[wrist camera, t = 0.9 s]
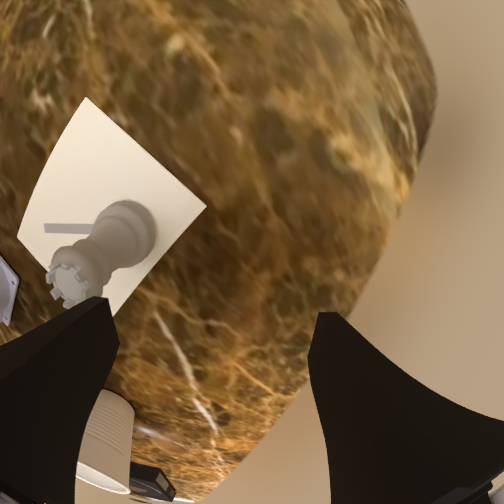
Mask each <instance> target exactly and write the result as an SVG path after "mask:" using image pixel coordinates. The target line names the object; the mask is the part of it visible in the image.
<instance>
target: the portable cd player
mask: <svg viewBox="0 0 504 504" xmlns="http://www.w3.org/2000/svg"><path fill="white" fill-rule="evenodd" d="M129 489H130V490H131V493H134V494H138V495H142V496H146V497H150V498H154V499H159V500H164V501H169V502H172V501H173V499H174V497H175V495H176V492H175V490H174V489H173V487H172V486H171V485H170V483H169V482H168V480H167V479H166V478H165V476H164V475H163V474H162V472H161V471H160V469H159V468H156V467H151V466H147V465H142V464H138V463H134V462H130V471H129Z"/></svg>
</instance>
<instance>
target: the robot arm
mask: <svg viewBox="0 0 504 504" xmlns="http://www.w3.org/2000/svg"><path fill="white" fill-rule="evenodd" d="M18 284H19V278H18V276H17V275H16V274H15V273H14V271H13V270H12V269H11V268H10V267H9V265H8V264H7V263H6V262H5V261H4V259H3V258H2V257H1V255H0V323H1V322H2V321H3V322H4V323H5V324H6V325H7V326H8V325H9V324H10V320H11V314H12V309H13V305H14V300H15V296H16V292H17V288H18ZM119 345H120V342H119V339H118V335H117V332H116V328H115V324H114V320H113V316H112V312H111V308H110V304H109V299H108V298H105V297H98V296H93V297H90V298H88V299H86V300H84V301H82V302H80V303H78V304H77V305H75V306H73V307H71V308H70V309H68V310H66V311H64V312H63V313H61V314H59V315H58V316H56V317H54V318H53V319H51V320H49V321H47V322H46V323H44V324H42V325H40V326H38V327H37V328H35V329H33V330H31V331H29V332H28V333H26V334H24V335H22V336H20V337H18V338H16V339H14V340H12V341H10V342H8V343H5V344H3V345H1V346H0V504H44V503H46V504H74V503H75V502H74V501H75V498H74V497H75V479H76V470H77V463H78V458H79V452H80V448H81V443H82V439H83V435H84V432H85V428H86V424H87V422H88V419H89V416H90V414H91V411H92V409H93V407H94V405H95V403H96V400H97V398H98V396H99V394H100V392H101V390H102V388H103V385H104V383H105V381H106V379H107V377H108V375H109V373H110V371H111V368H112V366H113V363H114V360H115V357H116V354H117V351H118V348H119ZM308 367H309V375H310V382H311V387H312V391H313V395H314V399H315V402H316V406H317V410H318V414H319V418H320V422H321V425H322V429H323V433H324V437H325V442H326V448H327V456H328V464H329V475H330V489H331V504H504V484H503V485H502V486H501V487H499V488H498V489H496V490H495V491H493V492H492V493H490V494H489V495H488V491H489V490H491V489H492V487H493V485H492V482H491V481H492V480H493V479H494V478H496V477H497V476H498V475H499V474H501V473H502V472H503V471H504V421H502V420H498V419H494V418H491V417H488V416H485V415H482V414H480V413H477V412H475V411H472V410H469V409H467V408H465V407H463V406H461V405H458V404H456V403H454V402H453V401H451V400H449V399H447V398H445V397H443V396H441V395H439V394H438V393H436V392H434V391H433V390H431V389H429V388H427V387H426V386H425V385H423V384H421V383H420V382H419V381H417V380H416V379H414V378H413V377H411V376H410V375H408V374H407V373H406V372H404V371H403V370H402V369H401V368H399V367H398V366H397V365H396V364H394V363H393V362H392V361H390V360H389V359H388V358H387V357H385V356H384V355H383V354H382V353H381V352H380V351H379V350H378V349H376V348H375V347H374V346H373V345H372V344H370V342H368V341H367V340H366V339H365V338H364V337H363V336H362V335H361V334H360V333H359V332H358V331H357V330H356V329H355V328H353V327H352V326H351V325H350V324H349V323H348V322H347V321H346V320H345V319H344V318H343V317H341V316H340V315H339V314H338V313H337V312H319V313H318V318H317V322H316V326H315V330H314V334H313V338H312V342H311V346H310V350H309V354H308Z"/></svg>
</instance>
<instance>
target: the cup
mask: <svg viewBox="0 0 504 504" xmlns="http://www.w3.org/2000/svg"><path fill="white" fill-rule="evenodd" d="M134 415H135V413H134V410H133V409H132V407H131V405H130V404H129V403H128V402H127V401H126V400H125V399H123V398H122V397H121V396H119V395H117V394H115V393H113V392H111V391H108V390H105V389H102V390H101V392H100V394H99V396H98V398H97V400H96V403H95V405H94V407H93V409H92V411H91V414H90V416H89V419H88V422H87V424H86V428H85V432H84V435H83V439H82V443H81V448H80V452H79V458H78V463H77V470H76V477H78V478H79V479H81V480H84V481H86V482H88V483H90V484H92V485H95V486H97V487H99V488H102V489H105V490H108V491H112V492H116V493H120V494H129V493H131V490H130V489H129V471H130V454H131V443H132V432H133V424H134Z"/></svg>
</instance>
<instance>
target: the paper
mask: <svg viewBox="0 0 504 504" xmlns="http://www.w3.org/2000/svg"><path fill="white" fill-rule="evenodd" d="M123 200H126V201H130V202H133V203H137V204H138V205H139V206H140V207H142V208H143V209H144V210H145V211H147V213H148V214H149V216H150V218H151V220H152V221H153V223H154V228H155V233H156V238H155V243H154V248H153V249H152V251H151V252H150V254H149V255H148V256H147V257H146V258H144V260H143V261H142V262H140V263H138V264H137V265H135V266H133V267H131V268H118V269H117V270H115V271H114V272H112V276H111V279H110V280H109V282H108V284H107V285H105V286H103V295H102V296H101V297H105V298H108V299H109V304H110V308H111V312H112V316H114V315H115V314H116V312H117V311H118V310H119V308H120V307H121V306H122V305H123V303H124V302H125V301H126V299H127V298H128V297H129V296H130V294H131V293H132V292H133V291H134V289H135V288H136V287H137V286H138V285H139V283H140V282H141V281H142V280H143V278H144V277H145V276H146V275H147V274H148V272H149V271H150V270H151V269H152V268H153V266H154V265H155V264H156V263H157V262H158V260H159V259H160V258H161V257H162V256H163V255H164V253H165V252H166V251H167V250H168V249H169V248H170V247H171V245H172V244H173V243H174V242H175V241H176V240H177V239H178V237H179V236H180V235H181V234H182V233H183V232H184V231H185V230H186V228H187V227H188V226H189V225H190V224H191V223H192V222H193V221H194V220H195V219H196V217H197V216H198V215H199V214H200V213H201V212H202V211H203V210H204V209H205V208H206V207H207V206H206V205H205V204H204V203H203V202H202V201H201V200H200V199H199V198H198V197H197V196H195V195H194V194H193V193H192V192H191V191H190V190H189V189H188V188H187V187H186V186H184V185H183V184H182V183H181V182H180V181H179V180H178V179H177V178H176V177H175V176H173V175H172V174H171V173H170V172H169V171H168V170H167V169H166V168H165V167H163V166H162V165H161V164H160V163H159V162H158V161H157V160H156V159H155V158H154V157H152V156H151V155H150V154H149V153H148V152H147V151H146V150H145V149H144V148H142V147H141V146H140V145H139V144H138V143H137V142H136V141H135V140H134V139H133V138H131V137H130V136H129V135H128V134H127V133H126V132H125V131H124V130H123V129H121V128H120V127H119V126H118V125H117V124H116V123H115V122H114V121H113V120H111V119H110V118H109V117H108V116H107V115H106V114H105V113H104V112H103V111H101V110H100V109H99V108H98V107H97V106H96V105H95V104H94V103H93V102H91V101H90V100H89V99H88V98H87V97H86V98H85V99H84V100H83V102H82V103H81V105H80V106H79V108H78V109H77V111H76V112H75V114H74V115H73V117H72V119H71V120H70V122H69V123H68V125H67V127H66V128H65V130H64V132H63V133H62V135H61V137H60V139H59V140H58V142H57V144H56V146H55V148H54V150H53V151H52V153H51V155H50V157H49V159H48V161H47V163H46V165H45V167H44V169H43V171H42V173H41V176H40V178H39V180H38V182H37V185H36V187H35V189H34V192H33V194H32V196H31V199H30V201H29V204H28V207H27V209H26V212H25V215H24V217H23V220H22V223H21V226H20V229H19V232H18V235H17V237H18V239H19V240H20V241H21V242H22V243H23V245H24V246H25V247H26V248H27V249H28V250H29V252H30V253H31V254H32V255H33V256H34V257H35V258H36V259H37V260H38V262H39V263H40V264H41V265H42V266H43V267H44V268H45V269H46V270H47V271H48V272H49V271H50V269H49V268H48V266H50V265H51V260H52V257H53V255H54V252H55V251H56V250H58V249H59V248H60V247H62V246H70V245H71V246H72V245H73V244H74V243H75V242H76V241H78V240H80V239H86V238H87V237H88V236H89V235H90V234H91V231H92V229H93V224H94V222H95V220H96V218H97V216H98V215H99V213H100V212H101V211H103V210H104V209H105V208H107V207H108V206H109V205H111V204H112V203H113V202H117V201H123Z"/></svg>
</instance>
